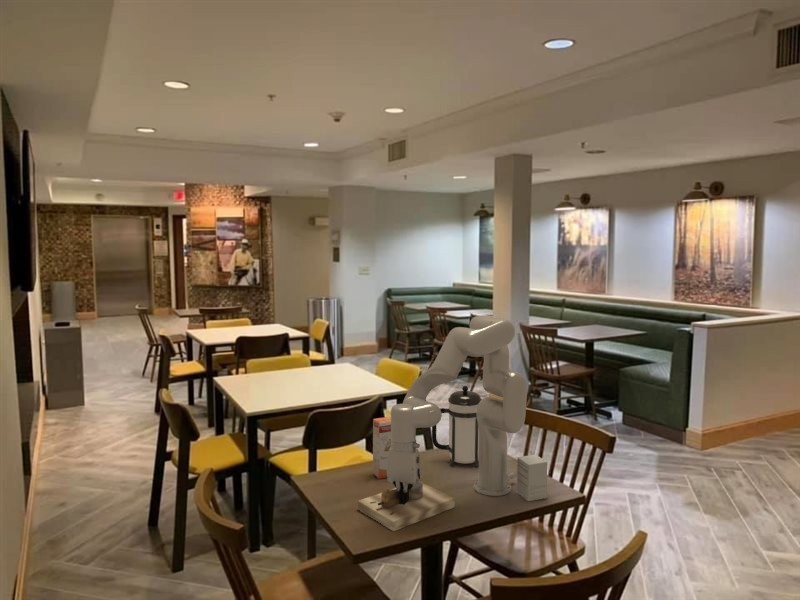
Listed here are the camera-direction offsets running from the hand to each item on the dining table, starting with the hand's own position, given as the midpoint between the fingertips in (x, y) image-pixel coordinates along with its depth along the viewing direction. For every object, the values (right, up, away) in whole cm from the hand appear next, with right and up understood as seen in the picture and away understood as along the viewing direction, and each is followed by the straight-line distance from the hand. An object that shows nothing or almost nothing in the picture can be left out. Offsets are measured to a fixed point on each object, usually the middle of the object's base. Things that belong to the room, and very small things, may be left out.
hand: (403, 502), depth 182 cm
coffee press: (+22, 0, +45) cm, 50 cm away
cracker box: (-4, -1, +34) cm, 34 cm away
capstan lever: (-1, -1, +3) cm, 3 cm away
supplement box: (+43, -3, +15) cm, 45 cm away
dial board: (+1, -4, +5) cm, 7 cm away
